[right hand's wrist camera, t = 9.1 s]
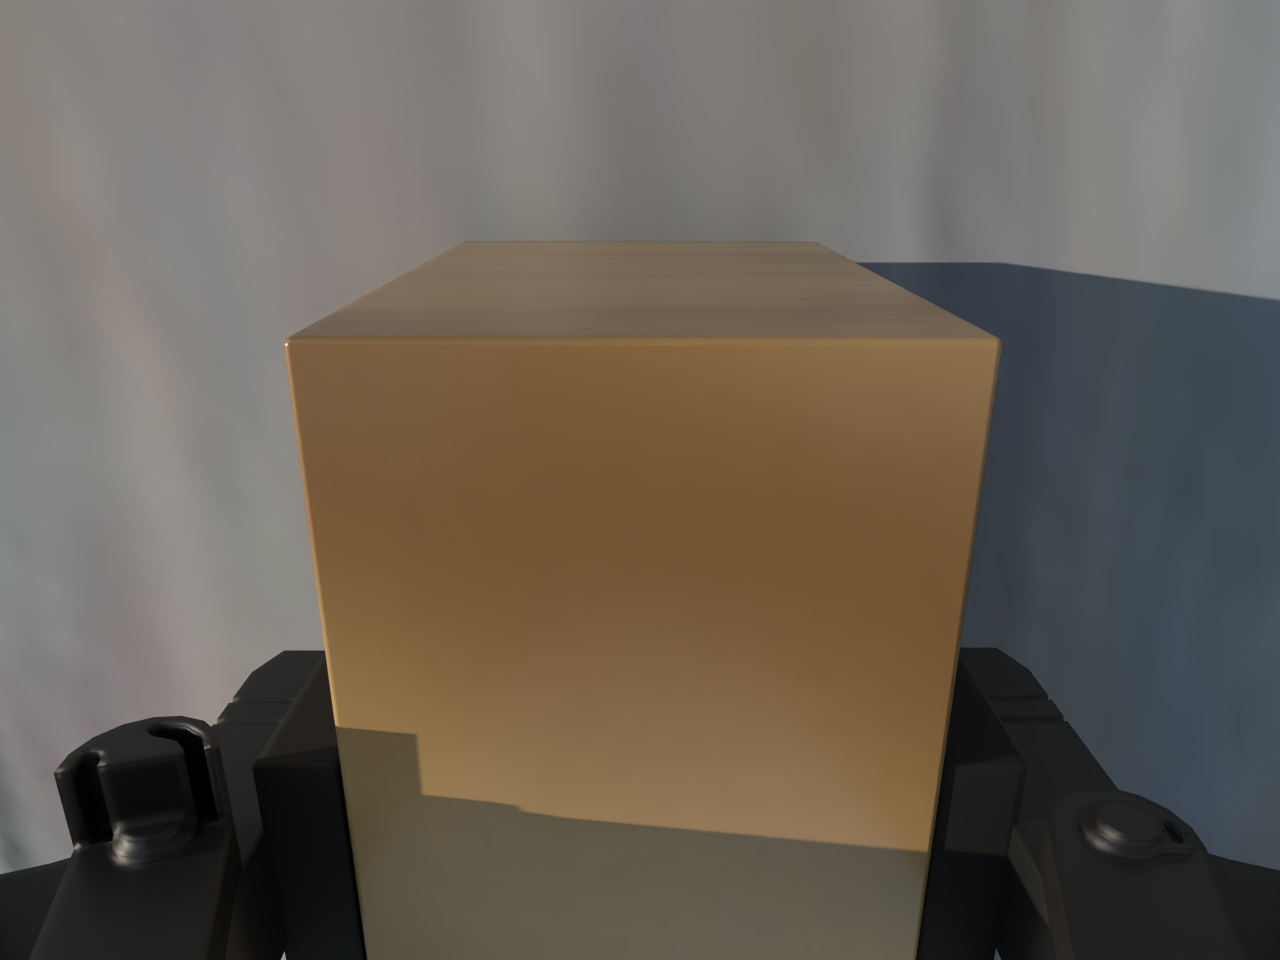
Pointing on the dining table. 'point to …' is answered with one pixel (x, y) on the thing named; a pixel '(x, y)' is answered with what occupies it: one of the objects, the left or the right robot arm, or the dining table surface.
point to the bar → (642, 596)
